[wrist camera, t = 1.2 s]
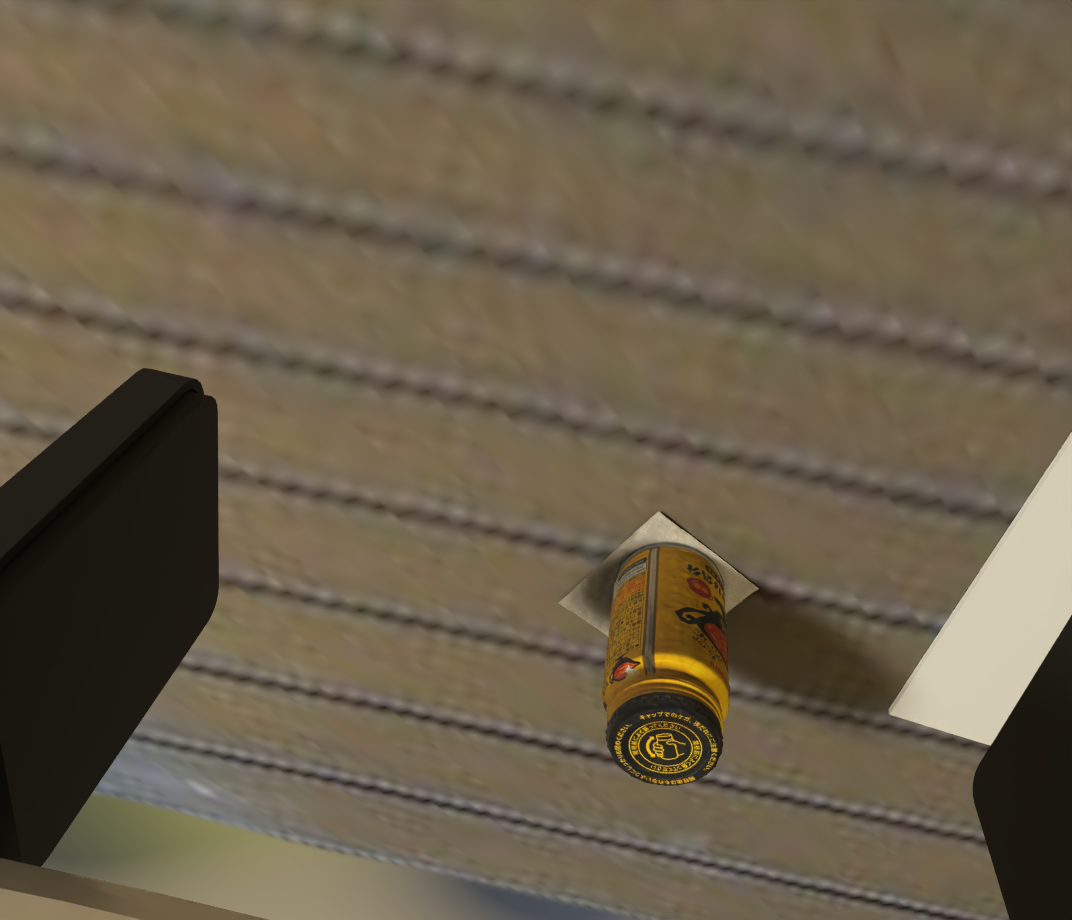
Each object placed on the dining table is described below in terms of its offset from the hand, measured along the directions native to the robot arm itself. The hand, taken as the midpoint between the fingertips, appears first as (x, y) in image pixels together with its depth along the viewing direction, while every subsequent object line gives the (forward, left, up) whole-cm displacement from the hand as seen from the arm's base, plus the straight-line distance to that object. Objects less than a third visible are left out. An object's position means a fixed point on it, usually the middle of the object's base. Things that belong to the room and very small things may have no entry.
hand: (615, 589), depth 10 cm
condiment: (+26, +8, -35) cm, 44 cm away
